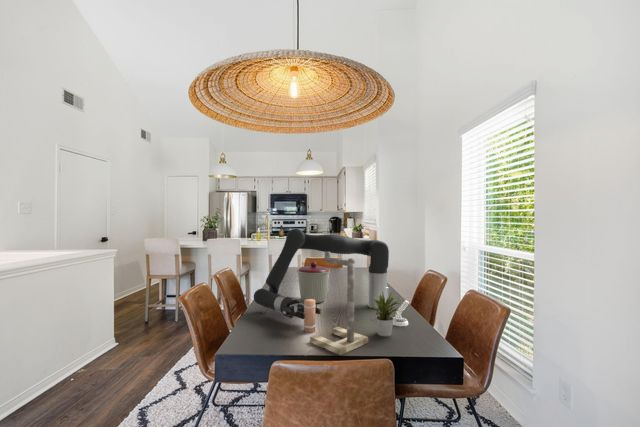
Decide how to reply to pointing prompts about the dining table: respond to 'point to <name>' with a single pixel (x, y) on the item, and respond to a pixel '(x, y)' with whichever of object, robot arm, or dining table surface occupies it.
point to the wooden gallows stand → (350, 337)
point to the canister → (313, 282)
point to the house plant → (384, 314)
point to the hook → (399, 316)
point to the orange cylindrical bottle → (309, 315)
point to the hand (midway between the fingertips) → (312, 314)
